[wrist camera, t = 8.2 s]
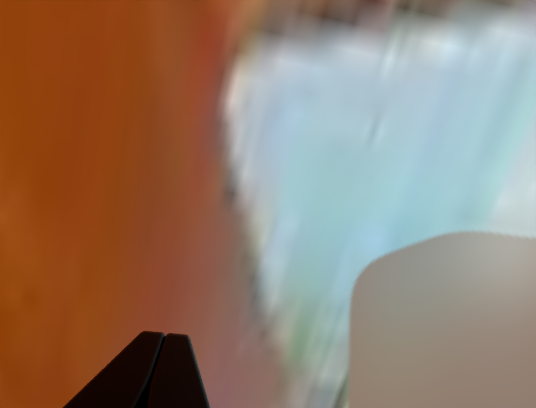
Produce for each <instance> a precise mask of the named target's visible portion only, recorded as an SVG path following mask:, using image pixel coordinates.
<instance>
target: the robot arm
mask: <svg viewBox="0 0 536 408" xmlns="http://www.w3.org/2000/svg"><path fill="white" fill-rule="evenodd" d="M63 408H210V406H209V402H208V399H207V395H206V392H205V388H204V385H203V381H202V378H201V375H200V371H199V368H198V364H197V361H196V357H195V354H194V350H193V347H192V344H191V340H190V338H189V336H188V335H184V334H173V333H169V334H167V335H166V336H165V334H164V333H162V332H152V331H143V332H141V333H140V334H139V335H138V336H137V337H136V338H135V339H134V340H133V341H132V342H131V343H130V344H129V345H127V346H126V347H125V348H124V349H123V350H122V351H121V352H120V353H119V354H118V355H117V356H116V357H115V358H114V359H113V360H112V361H111V362H110V363H109V364H108V365H107V366H106V367H105V368H104V369H102V370H101V371H100V372H99V373H98V374H97V375H96V376H95V377H94V378H93V379H92V380H91V381H90V382H89V383H88V384H87V385H86V386H85V387H84V388H83V389H82V390H81V391H80V392H79V393H77V394H76V395H75V396H74V397H73V398H72V399H71V400H70V401H69V402H68V403H67V404H66V405H65V406H64V407H63Z"/></svg>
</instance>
